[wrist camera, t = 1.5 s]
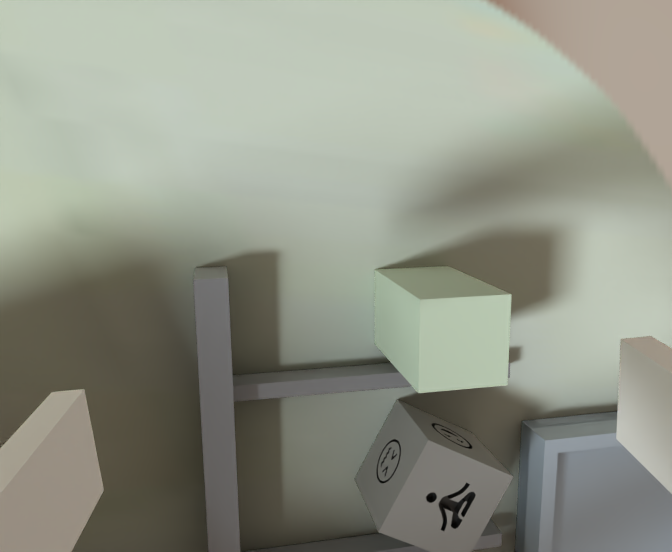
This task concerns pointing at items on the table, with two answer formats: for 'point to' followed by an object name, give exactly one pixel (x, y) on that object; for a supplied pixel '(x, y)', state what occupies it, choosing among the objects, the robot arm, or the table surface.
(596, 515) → the slate tray
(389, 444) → the dice cube
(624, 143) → the table surface
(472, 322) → the sage block
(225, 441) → the grey bar frame
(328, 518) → the table surface
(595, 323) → the table surface
